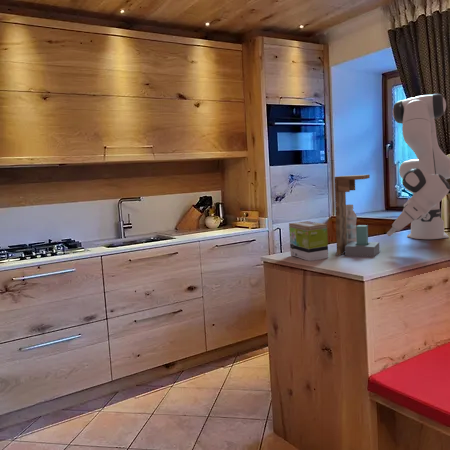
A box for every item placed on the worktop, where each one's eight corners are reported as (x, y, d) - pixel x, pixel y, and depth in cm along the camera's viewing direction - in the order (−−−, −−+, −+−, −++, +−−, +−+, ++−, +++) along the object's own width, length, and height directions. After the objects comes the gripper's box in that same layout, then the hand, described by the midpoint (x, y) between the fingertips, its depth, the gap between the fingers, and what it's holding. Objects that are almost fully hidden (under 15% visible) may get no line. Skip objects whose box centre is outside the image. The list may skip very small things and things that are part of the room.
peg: (358, 252, 200) (358, 225, 198) (368, 252, 198) (367, 225, 196) (356, 254, 196) (356, 226, 195) (366, 254, 194) (365, 226, 193)
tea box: (289, 256, 201) (288, 222, 199) (308, 253, 205) (307, 220, 203) (308, 261, 187) (307, 225, 185) (329, 258, 191) (328, 223, 189)
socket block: (351, 250, 205) (351, 241, 204) (379, 251, 199) (379, 242, 199) (345, 255, 194) (344, 246, 194) (374, 256, 189) (374, 247, 188)
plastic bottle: (358, 249, 207) (357, 205, 205) (343, 249, 209) (341, 205, 206) (357, 246, 213) (356, 203, 211) (342, 246, 215) (341, 204, 212)
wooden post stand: (343, 250, 206) (341, 175, 203) (371, 251, 201) (369, 174, 197) (336, 255, 196) (334, 176, 192) (365, 256, 190) (363, 175, 186)
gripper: (411, 201, 194) (388, 224, 200) (405, 206, 177) (379, 231, 182) (423, 212, 193) (399, 234, 199) (418, 218, 175) (391, 242, 181)
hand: (389, 233), depth 190 cm, fingers open, 8 cm apart
